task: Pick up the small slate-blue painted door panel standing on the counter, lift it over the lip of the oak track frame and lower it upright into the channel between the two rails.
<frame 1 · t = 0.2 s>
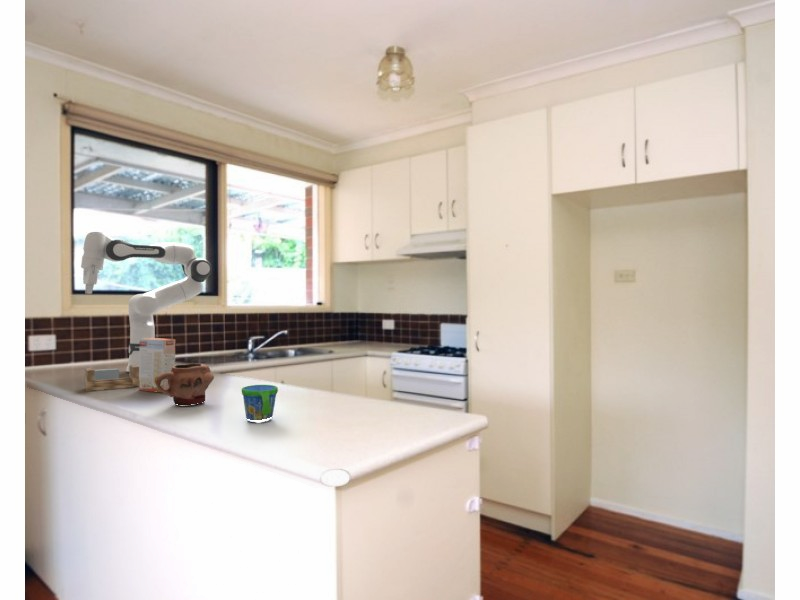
hand: (88, 293, 231), 39 cm above the countertop, tool pointing down, fingers open, 8 cm apart
track frame: (112, 387, 199), on the countertop
snack cup: (259, 421, 147), on the countertop
cracker box: (156, 391, 193), on the countertop
door panel: (105, 383, 209), on the countertop
brown mug: (185, 405, 168), on the countertop
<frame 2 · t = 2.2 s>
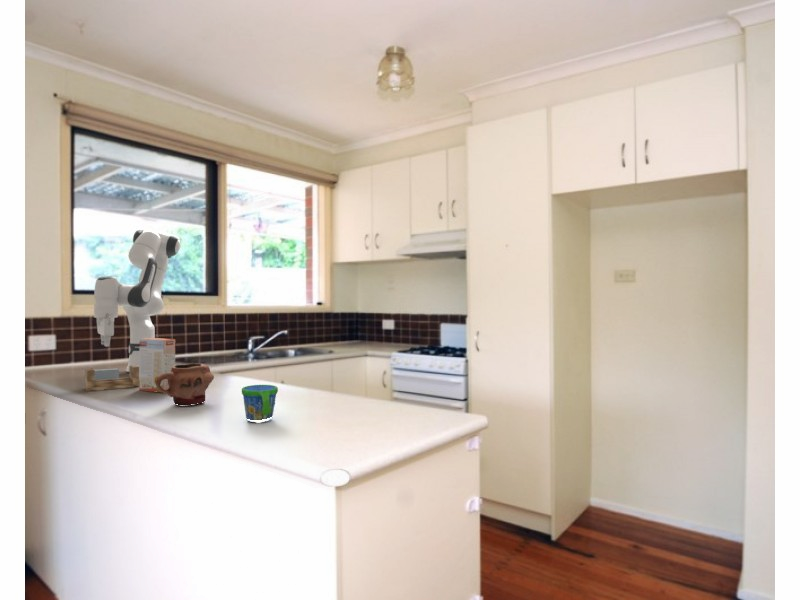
hand: (105, 345, 209), 16 cm above the countertop, tool pointing down, fingers open, 8 cm apart
nothing on the countertop moved.
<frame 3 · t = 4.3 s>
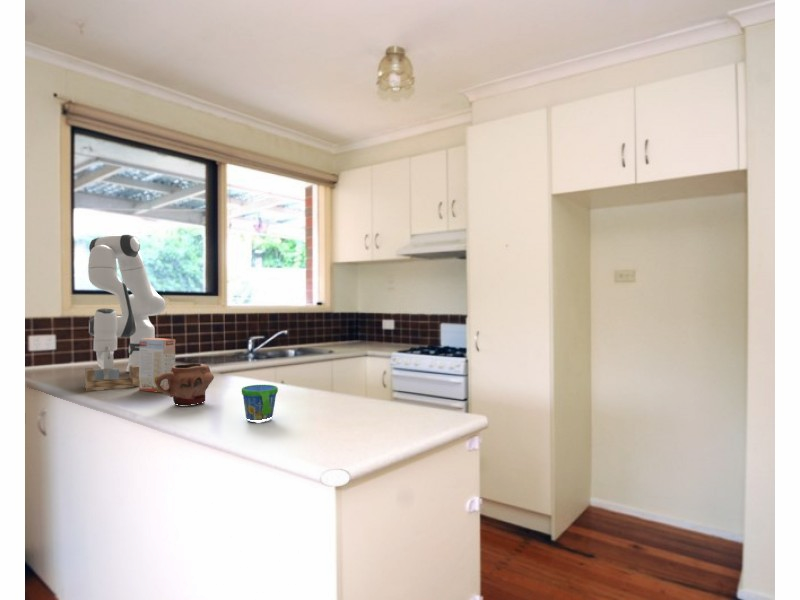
hand: (105, 378, 209), 2 cm above the countertop, tool pointing down, fingers closed on door panel, 2 cm apart
door panel: (105, 383, 209), on the countertop, touching gripper
everything else where it was.
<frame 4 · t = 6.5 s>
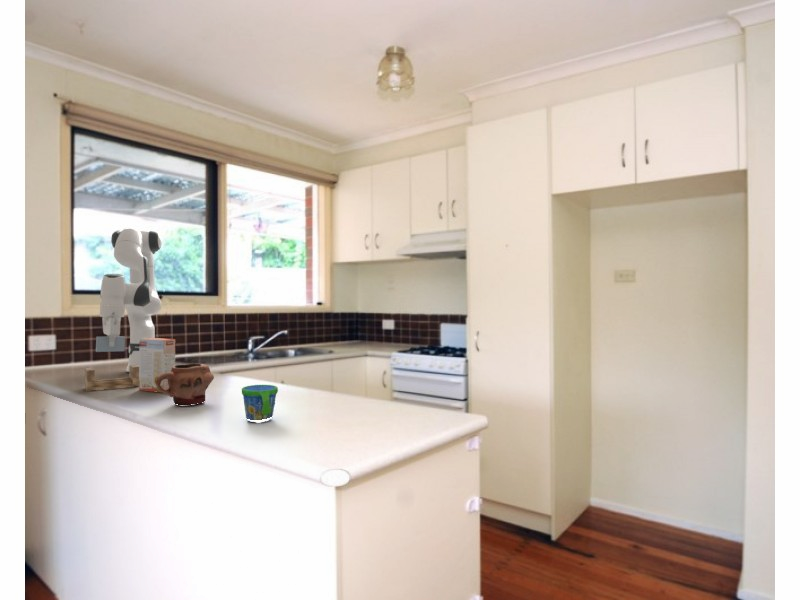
hand: (110, 346, 200), 17 cm above the countertop, tool pointing down, fingers closed on door panel, 2 cm apart
door panel: (110, 351, 200), point 15 cm above the countertop, touching gripper
everything else where it was.
when the fingers open (4 cm above the countertop, at t = 8.5 s): door panel stays where it is, resting on track frame.
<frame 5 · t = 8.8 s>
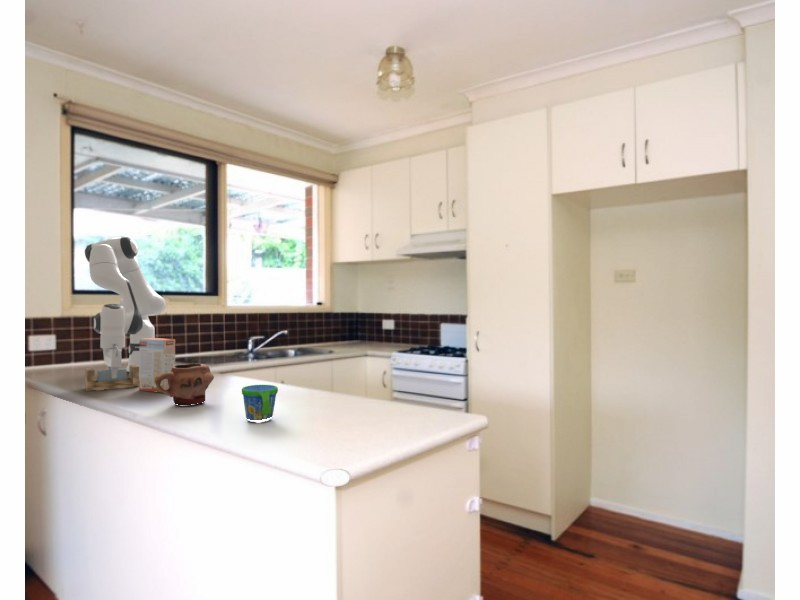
hand: (112, 376, 199), 4 cm above the countertop, tool pointing down, fingers open, 6 cm apart
door panel: (112, 384, 199), point 1 cm above the countertop, touching track frame
everything else where it was.
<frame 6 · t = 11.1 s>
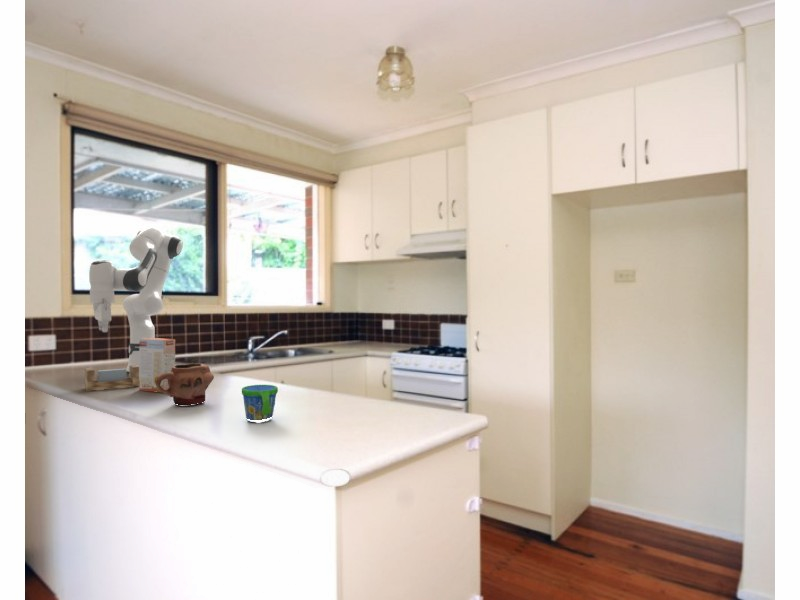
hand: (103, 331, 205), 23 cm above the countertop, tool pointing down, fingers open, 8 cm apart
nothing on the countertop moved.
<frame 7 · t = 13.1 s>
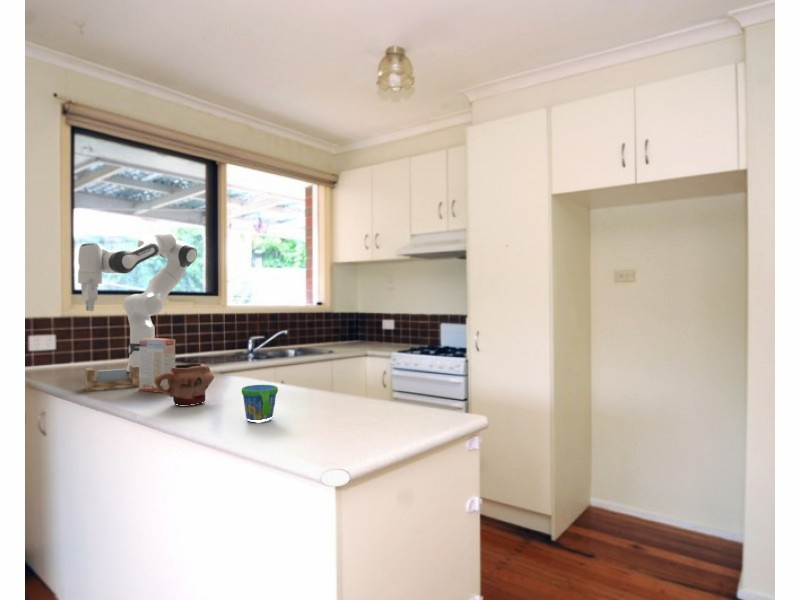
hand: (89, 310, 213), 31 cm above the countertop, tool pointing down, fingers open, 8 cm apart
nothing on the countertop moved.
at the end: door panel inside the target area on the track frame (0.1 cm from its centre), point 1.2 cm above the track frame's base; door panel tilted 0°; the gripper is holding nothing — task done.
